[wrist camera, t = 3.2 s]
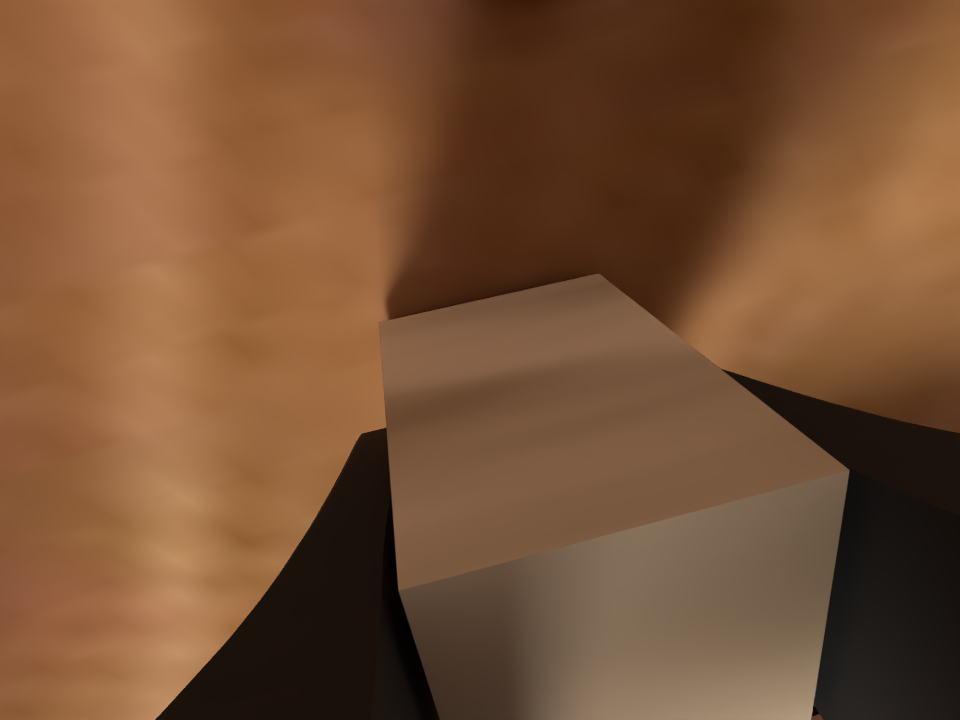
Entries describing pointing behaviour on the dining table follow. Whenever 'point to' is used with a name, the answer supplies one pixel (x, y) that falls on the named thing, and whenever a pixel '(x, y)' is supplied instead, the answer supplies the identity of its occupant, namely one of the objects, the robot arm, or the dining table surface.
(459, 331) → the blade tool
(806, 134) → the dining table surface
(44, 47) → the dining table surface
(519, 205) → the dining table surface
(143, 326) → the dining table surface
